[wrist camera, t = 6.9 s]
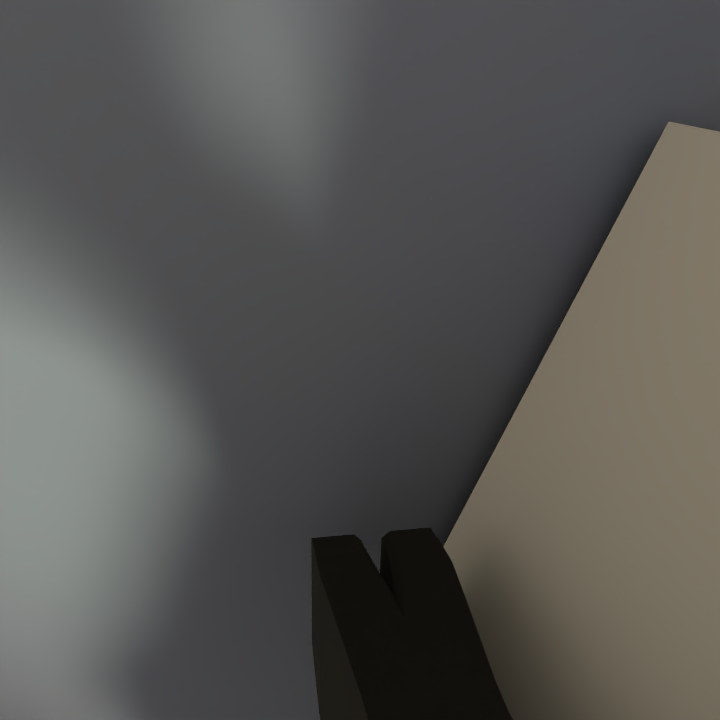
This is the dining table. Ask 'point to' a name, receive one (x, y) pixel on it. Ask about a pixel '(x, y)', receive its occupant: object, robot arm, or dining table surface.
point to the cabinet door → (614, 476)
